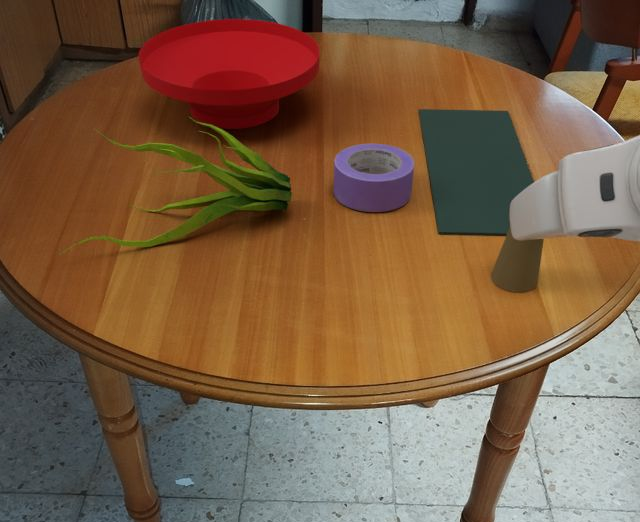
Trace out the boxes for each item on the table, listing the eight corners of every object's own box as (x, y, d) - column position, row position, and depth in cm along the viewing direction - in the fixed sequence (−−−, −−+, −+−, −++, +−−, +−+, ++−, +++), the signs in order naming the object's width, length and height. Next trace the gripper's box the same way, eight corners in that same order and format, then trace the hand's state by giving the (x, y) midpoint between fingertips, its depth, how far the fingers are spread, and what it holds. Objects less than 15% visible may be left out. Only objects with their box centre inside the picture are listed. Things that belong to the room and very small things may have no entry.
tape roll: (334, 172, 106) (335, 141, 102) (408, 174, 106) (412, 143, 102) (332, 212, 98) (333, 180, 95) (413, 214, 98) (417, 182, 94)
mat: (418, 111, 121) (418, 108, 121) (507, 112, 121) (508, 110, 121) (438, 234, 95) (438, 231, 94) (552, 236, 94) (553, 234, 94)
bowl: (206, 66, 135) (199, 9, 127) (346, 93, 126) (348, 34, 119) (113, 127, 116) (100, 66, 109) (270, 165, 108) (267, 100, 100)
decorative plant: (95, 197, 101) (68, 95, 90) (294, 199, 101) (291, 97, 90) (62, 267, 89) (27, 160, 78) (288, 270, 89) (283, 163, 78)
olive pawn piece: (526, 262, 90) (547, 185, 82) (545, 289, 86) (570, 211, 78) (483, 267, 89) (500, 190, 81) (501, 295, 85) (521, 217, 77)
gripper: (780, 140, 56) (675, 189, 70) (547, 155, 54) (486, 203, 68) (785, 216, 57) (680, 251, 70) (553, 234, 55) (491, 266, 68)
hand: (583, 227), depth 69 cm, fingers closed
